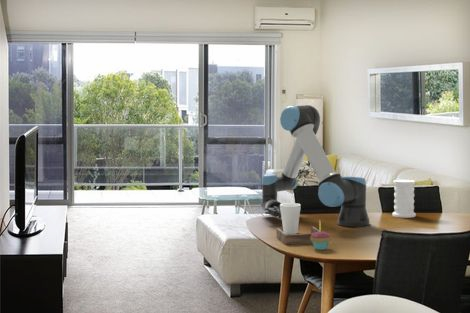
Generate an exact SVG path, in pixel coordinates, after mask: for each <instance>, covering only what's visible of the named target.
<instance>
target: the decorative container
mask: <svg viewBox="0 0 470 313" xmlns="http://www.w3.org/2000/svg"><path fill="white" fill-rule="evenodd" d="M415 184H416V180H413V179H394V180H393V185H394V187H393V188H394V189H393V190H394V193H393V196H394V200H393V203H394V205H393V208H394V211H393V212H392V217H395V218H403V219H405V218H406V219H408V218H409V219H410V218H415V217H416V216H417V214H416V212H415V211H414V210H415V205H414V203H415V199H414V198H415V187H414V186H415Z"/></svg>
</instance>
